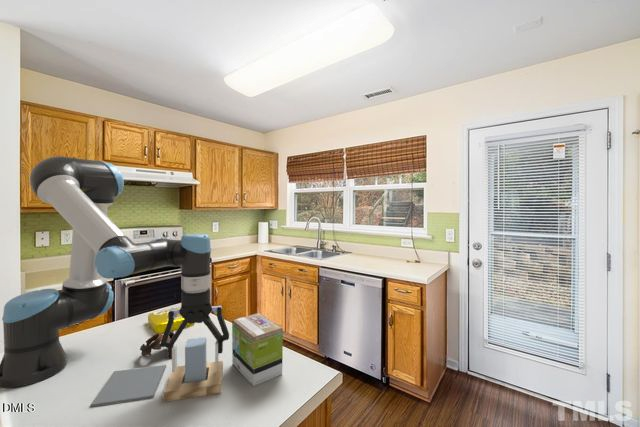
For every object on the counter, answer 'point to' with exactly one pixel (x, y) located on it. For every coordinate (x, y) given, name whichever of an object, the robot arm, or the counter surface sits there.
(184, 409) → the counter surface
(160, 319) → the element tile
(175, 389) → the holder
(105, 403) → the plate
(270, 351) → the tea box
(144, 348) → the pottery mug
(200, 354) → the part
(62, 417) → the counter surface
